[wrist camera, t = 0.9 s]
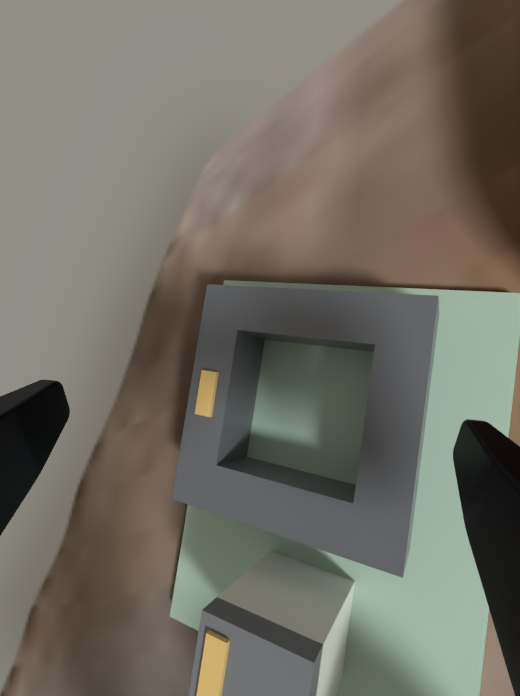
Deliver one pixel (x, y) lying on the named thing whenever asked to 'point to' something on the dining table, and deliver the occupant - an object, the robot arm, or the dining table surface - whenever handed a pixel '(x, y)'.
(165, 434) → the dining table surface
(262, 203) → the dining table surface
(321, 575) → the plug
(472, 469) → the robot arm
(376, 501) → the grey flat square frame
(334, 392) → the circuit board
